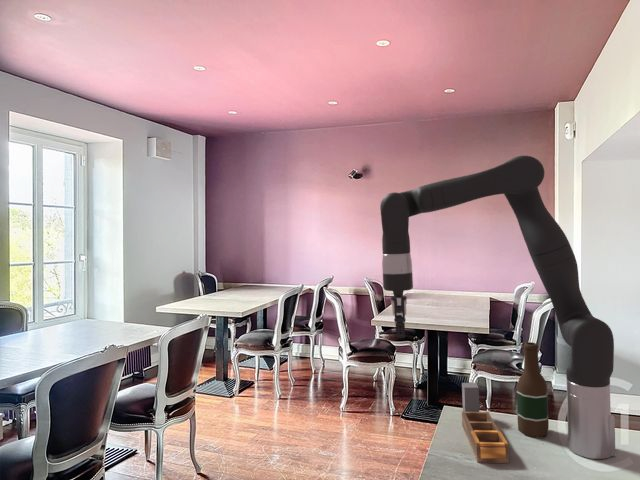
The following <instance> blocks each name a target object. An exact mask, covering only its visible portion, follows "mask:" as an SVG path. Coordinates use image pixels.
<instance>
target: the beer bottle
mask: <svg viewBox="0 0 640 480" xmlns="http://www.w3.org/2000/svg"><path fill="white" fill-rule="evenodd" d="M523 344H524V345H523V348H524V357H523V358H524V361H523V362H524V363H523V371H522V374H521V375H520V377H519V378H518V381H517V384H516V404H517V406H516V408H517V410H516V412H517V430H518V431H519V432H520V434H521V433H522V434H523V435H524V436H527V437H531V438H536V437H538V438H543V437H542V436H545V437H547V435H548V433H549V391H548V384H547V382H546V379H545V378H544V376H543V375H542V374H541V371H540V364H539V352H538V349H539V344H538V343H536V342H530V341H529V342H525V343H523Z"/></svg>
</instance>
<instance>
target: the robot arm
mask: <svg viewBox="0 0 640 480" xmlns="http://www.w3.org/2000/svg"><path fill="white" fill-rule="evenodd" d="M544 178H545V167H544V165H543V164H542V162H541V161H540V160H539V159H538V158H536V157H533V156H531V155H519V156H514V157H512V158H510V159H508V160H507V161H505V162H504V163H502V164H499V165H497V166H495V167H491V168H490V169H489V168H488V169H485V170H483V171H480V172H476V173H471V174H468V175H463V176H457V177H453V178H452V177H451V178H449V179H443V180H439V181H436V182H430V183H427V184H424V185H420V186H418V187H417V188H413V189H411V190H407V191H402V192H394V191H393V192H389V193H387V194H386V195H385V196H384V197H382V199H381V202H380V205H379V206H380V220H381V228H382V237H381V238H382V239H381V247H382V261H381V264H382V265H381V268H382V285H383V290H384V291H387V292H392V294H393V296H390V304H391V310H392V315H393V316H394V318H393V319H394V320H393V322H394V323H395V337H396V338H397V339H405V338H406V328H405V326H406V325H405V323H406V315H407V304H408V302H407V301H408V299H407V296H406V295H404V292H405V291H406V292H407V291H411V290H412V289H413V288H414V282H413V281H414V279H413V262H412V261H413V259H412V256H411V239H410V234H409V233H410V231H409V226H410V225H409V223H410V222H409V221H410V219H409V218H411V217H413V216H417V215H420V214H424V213H425V214H428V213H433V212H437V211H441V210H446V209H449V208H452V207H456V206H459V205H462V204H465V203H468V202H472V201H475V200H479V199H482V198H487V197H490V196H491V197H492V196H496V195H497V196H498V195H504V197H505V199H506V200H507V202H508V204H509V205H510V207H511V208H510V209H512V211H513V213H514V216H515V217H516V220H517V223H518V225H519V229H520V231H521V234H522V237H523V239H524V242H525V245H526V247H527V250H528V253H529V256H530V258H531V260H532V263H533V265H534V267H535V270H536V272H537V274H538V276H539V278H540V280H541V283H542V285H543V287H544V289H545V291H546V293H547V294H548V297H549V299H550V301H551V304H552V307H553V309H554V313H555V316H556V321H557V324H558V327H559V330H560V333H561V336H562V339H563V340H564V342H565V343H566V344H567V345H568V346H569V347H570V348H571V365H568V366H567V367H566V372H565V373H566V407H567V408H566V409H567V411H566V413H567V447H568V449H569V450H570V451H571V452H572V453H574V454H576V455H578V456H581V457H584V458H587V459H593V460H604V459H608V458H611V457H616V424H615V422H616V420H615V419H616V418H615V416H614V415H613V414H612V412H611V409H612V407H611V377H612V375H613V373H614V361H615V360H614V359H615V358H614V357H615V355H614V354H615V353H614V352H615V346H614V345H615V342H614V341H615V340H614V334H613V331H612V329H611V327H610V326H609V324H607V323H606V322H605V321H603V320H602V319H599V318H596V317H594V316H593V314H592V313H591V311H590V310H589V308H588V305H587V303H586V301H585V299H584V296H583V294H582V292H581V288H580V280H579V279H580V278H579V267H578V261H577V259H576V256H575V254H574V251H573V248H572V246H571V243H570V241H569V239H568V238H567V235H566V233H565V232H564V231H563V229H562V228H561V226H560V224H559V223H558V222H557V221H556V219H554V217H553V216H552V214H551V213H550V211H548V209H547V207H546V205H545V204H544V201H543V199H542V196H541V193H540V190H539V187H540V185H541V184H542V182H543V181H544Z"/></svg>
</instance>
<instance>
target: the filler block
mask: <svg viewBox="0 0 640 480" xmlns="http://www.w3.org/2000/svg"><path fill="white" fill-rule="evenodd" d="M479 389H480V388H479V386H478V384H477V383H476V382H461V392H462V393H461V394H462V395H461V397H462V400H461V401H462V412H480V390H479Z"/></svg>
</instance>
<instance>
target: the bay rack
mask: <svg viewBox="0 0 640 480" xmlns="http://www.w3.org/2000/svg"><path fill="white" fill-rule="evenodd" d="M461 424H462V428H463V431H464V434H465V436H466V438H467V440H468V443H469V446H470V447H471V450H472V453H473V456H474V458H475V460H476V463H489V464H490V463H491V464H492V463H495V464H496V463H499V464H501V463H503V464H505V463H506V464H509V463H510V461H509V457H510V456H509V443H508V441H507V440H506V438H505V437H504V434H503V433H502V432H501V431H500V430H499V428H498V425H496V423H495V421H494V419H493V418H492V416H491V414H490V413H489V411H479V412H463V411H462V412H461Z"/></svg>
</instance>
